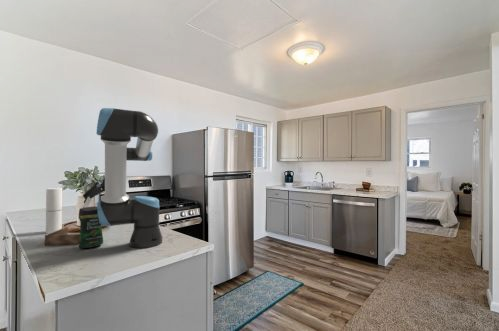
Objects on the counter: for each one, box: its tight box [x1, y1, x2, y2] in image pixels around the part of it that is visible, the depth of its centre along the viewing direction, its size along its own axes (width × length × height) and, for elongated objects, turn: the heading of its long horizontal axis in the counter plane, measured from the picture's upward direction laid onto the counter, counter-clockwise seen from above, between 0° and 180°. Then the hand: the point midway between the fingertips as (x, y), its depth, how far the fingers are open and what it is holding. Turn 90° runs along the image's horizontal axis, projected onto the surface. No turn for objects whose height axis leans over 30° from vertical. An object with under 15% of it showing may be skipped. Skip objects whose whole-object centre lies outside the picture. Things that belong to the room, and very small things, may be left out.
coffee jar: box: [78, 205, 104, 249], centre depth 115 cm, size 10×8×19 cm
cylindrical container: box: [45, 187, 63, 235], centre depth 139 cm, size 7×7×25 cm
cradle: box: [44, 226, 80, 246], centre depth 124 cm, size 16×16×5 cm
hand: (99, 208), depth 122 cm, fingers open, 13 cm apart
